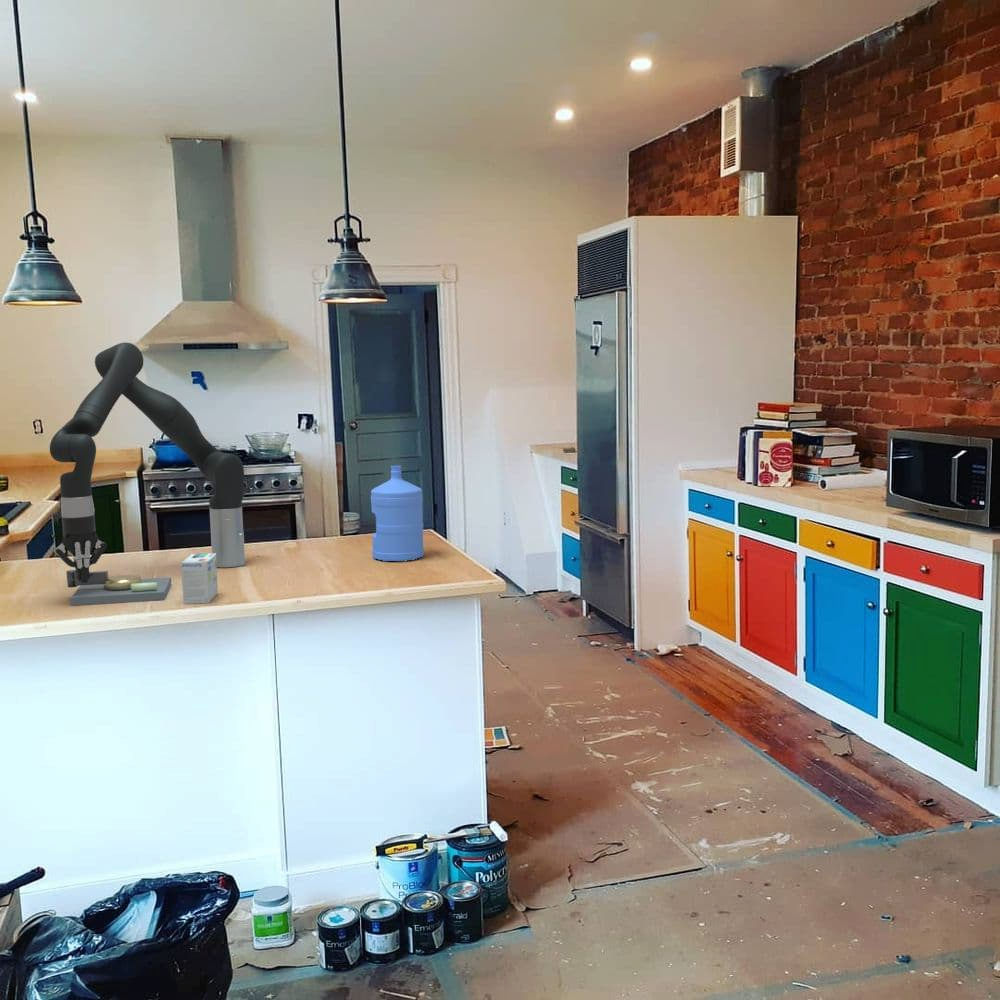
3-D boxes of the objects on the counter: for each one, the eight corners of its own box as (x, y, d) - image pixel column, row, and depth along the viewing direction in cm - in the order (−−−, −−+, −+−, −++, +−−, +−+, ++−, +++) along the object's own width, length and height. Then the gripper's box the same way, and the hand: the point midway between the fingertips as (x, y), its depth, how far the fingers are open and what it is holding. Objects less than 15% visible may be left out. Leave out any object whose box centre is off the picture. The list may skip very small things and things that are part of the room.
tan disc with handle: (143, 581, 255) (142, 563, 254) (138, 588, 246) (137, 570, 246) (71, 585, 251) (70, 567, 250) (64, 593, 242) (62, 574, 242)
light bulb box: (192, 594, 250) (190, 553, 248) (219, 593, 250) (216, 552, 249) (182, 604, 239) (180, 561, 238) (210, 603, 240) (208, 560, 238)
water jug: (434, 555, 297) (432, 464, 293) (402, 564, 284) (400, 469, 280) (394, 550, 305) (392, 462, 302) (361, 559, 292) (358, 467, 288)
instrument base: (171, 584, 261) (170, 570, 260) (164, 599, 244) (163, 584, 243) (84, 589, 256) (83, 575, 256) (70, 605, 239) (69, 590, 238)
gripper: (100, 509, 248) (105, 575, 250) (45, 515, 239) (51, 583, 242) (110, 512, 242) (115, 580, 244) (54, 518, 234) (59, 588, 236)
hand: (83, 582), depth 243 cm, fingers closed
